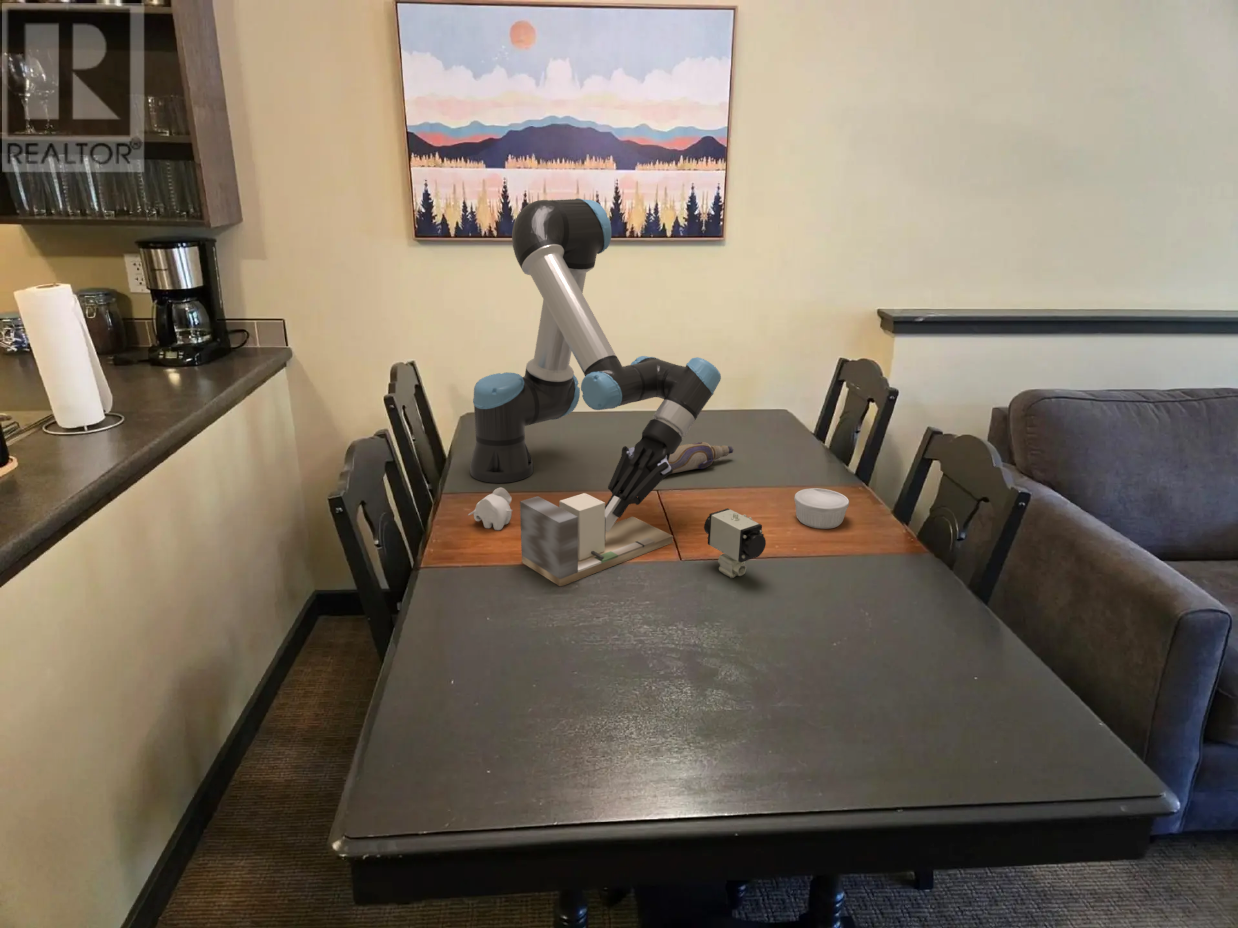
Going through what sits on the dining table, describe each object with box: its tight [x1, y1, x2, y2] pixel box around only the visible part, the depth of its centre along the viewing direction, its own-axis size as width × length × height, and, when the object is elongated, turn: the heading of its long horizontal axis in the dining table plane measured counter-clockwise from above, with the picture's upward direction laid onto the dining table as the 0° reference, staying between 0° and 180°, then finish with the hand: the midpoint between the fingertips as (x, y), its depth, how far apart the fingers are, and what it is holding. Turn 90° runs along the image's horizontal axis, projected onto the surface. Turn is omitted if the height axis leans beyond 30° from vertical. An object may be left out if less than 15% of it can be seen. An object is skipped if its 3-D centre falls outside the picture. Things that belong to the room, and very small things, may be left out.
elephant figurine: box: [467, 487, 513, 531], centre depth 167 cm, size 8×10×7 cm
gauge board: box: [519, 495, 674, 588], centre depth 154 cm, size 12×28×12 cm, turn 131°
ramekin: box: [794, 487, 850, 530], centre depth 172 cm, size 11×11×5 cm
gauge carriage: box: [559, 492, 606, 560], centre depth 150 cm, size 9×8×10 cm
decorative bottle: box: [668, 441, 734, 475], centre depth 199 cm, size 26×8×7 cm, turn 119°
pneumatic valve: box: [703, 508, 767, 579], centre depth 148 cm, size 6×12×12 cm, turn 35°
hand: (602, 527), depth 155 cm, fingers closed
